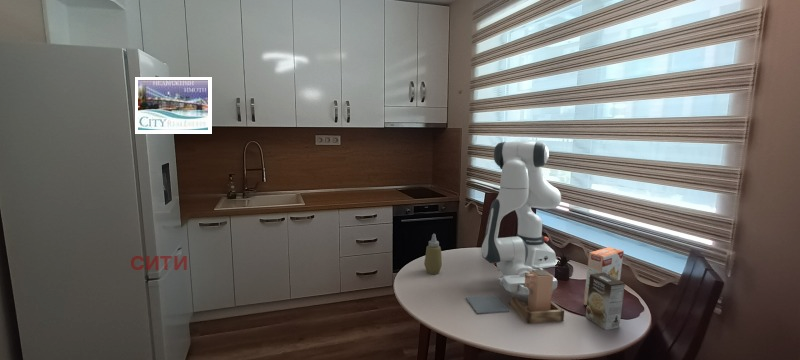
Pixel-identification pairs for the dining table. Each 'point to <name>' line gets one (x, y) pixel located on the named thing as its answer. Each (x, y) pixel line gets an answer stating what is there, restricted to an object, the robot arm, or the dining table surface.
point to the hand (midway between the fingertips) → (540, 292)
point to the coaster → (486, 304)
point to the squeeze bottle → (433, 256)
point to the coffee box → (605, 300)
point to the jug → (539, 290)
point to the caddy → (537, 312)
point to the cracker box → (604, 265)
